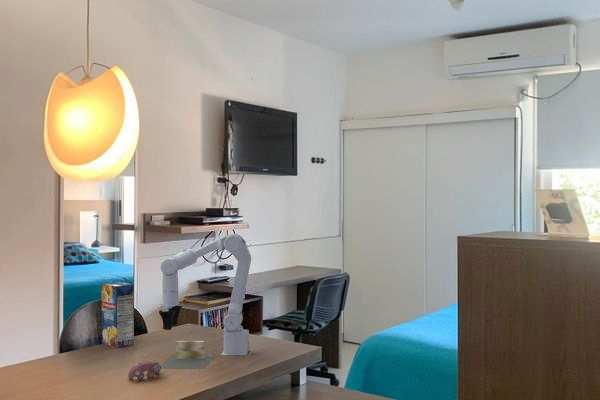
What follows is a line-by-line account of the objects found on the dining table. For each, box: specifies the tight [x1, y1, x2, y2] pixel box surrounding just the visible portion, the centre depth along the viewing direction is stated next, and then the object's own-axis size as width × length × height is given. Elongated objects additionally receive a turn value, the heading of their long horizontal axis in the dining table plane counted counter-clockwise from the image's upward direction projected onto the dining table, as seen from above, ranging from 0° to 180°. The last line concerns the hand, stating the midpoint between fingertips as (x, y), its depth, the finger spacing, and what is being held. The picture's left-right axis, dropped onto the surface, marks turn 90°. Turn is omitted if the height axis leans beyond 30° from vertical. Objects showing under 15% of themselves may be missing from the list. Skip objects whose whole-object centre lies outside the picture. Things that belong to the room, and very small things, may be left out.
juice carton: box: [101, 281, 135, 349], centre depth 230 cm, size 12×8×24 cm, turn 47°
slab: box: [175, 340, 206, 359], centre depth 205 cm, size 10×2×6 cm, turn 87°
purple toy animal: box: [127, 360, 162, 381], centre depth 183 cm, size 10×5×7 cm, turn 122°
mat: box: [160, 354, 216, 370], centre depth 201 cm, size 16×18×1 cm
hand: (171, 327), depth 213 cm, fingers open, 7 cm apart
